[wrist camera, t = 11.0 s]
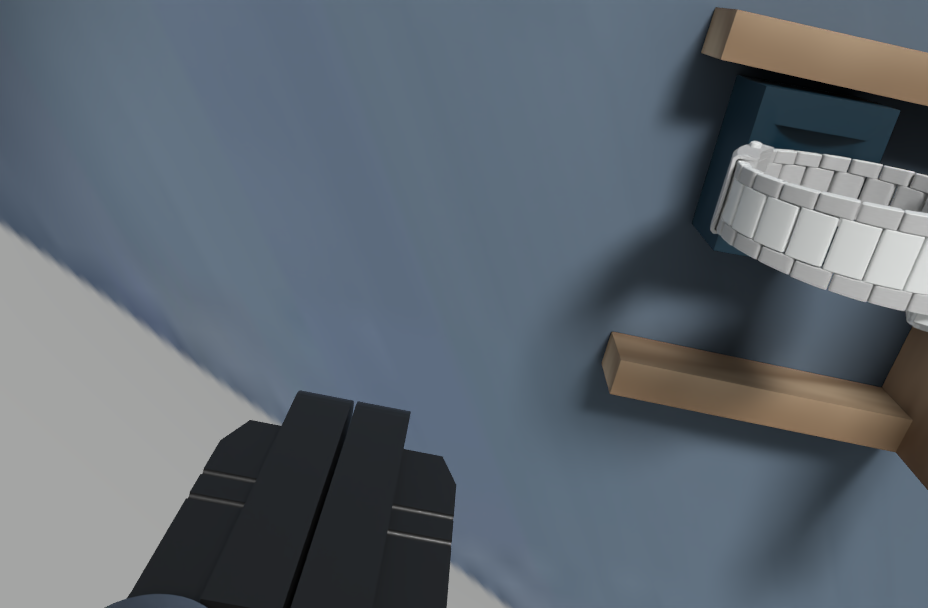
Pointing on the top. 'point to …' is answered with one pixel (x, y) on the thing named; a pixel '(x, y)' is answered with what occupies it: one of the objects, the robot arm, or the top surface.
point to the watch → (818, 195)
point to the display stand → (769, 386)
